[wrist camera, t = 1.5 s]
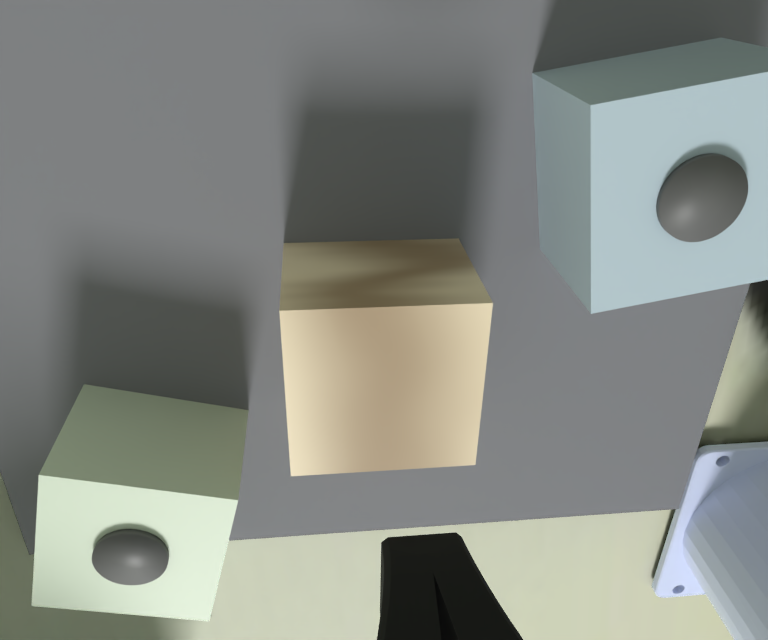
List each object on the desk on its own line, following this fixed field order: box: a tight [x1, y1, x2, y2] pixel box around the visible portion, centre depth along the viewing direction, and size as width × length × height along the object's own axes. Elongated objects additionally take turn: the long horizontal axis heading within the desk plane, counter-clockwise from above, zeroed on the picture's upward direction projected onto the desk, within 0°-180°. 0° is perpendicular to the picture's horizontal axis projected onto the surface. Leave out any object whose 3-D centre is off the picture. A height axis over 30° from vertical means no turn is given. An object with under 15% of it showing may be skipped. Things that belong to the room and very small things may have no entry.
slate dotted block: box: [532, 37, 768, 314], centre depth 17 cm, size 5×5×4 cm
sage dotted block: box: [32, 384, 249, 621], centre depth 20 cm, size 5×5×4 cm
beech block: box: [279, 238, 493, 476], centre depth 18 cm, size 5×5×4 cm
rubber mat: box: [0, 0, 768, 555], centre depth 20 cm, size 24×18×1 cm
